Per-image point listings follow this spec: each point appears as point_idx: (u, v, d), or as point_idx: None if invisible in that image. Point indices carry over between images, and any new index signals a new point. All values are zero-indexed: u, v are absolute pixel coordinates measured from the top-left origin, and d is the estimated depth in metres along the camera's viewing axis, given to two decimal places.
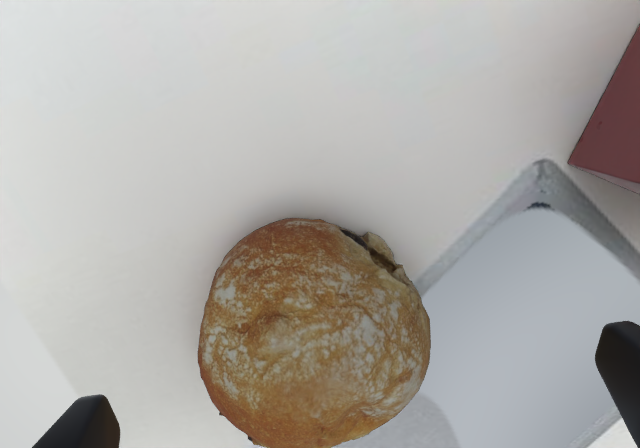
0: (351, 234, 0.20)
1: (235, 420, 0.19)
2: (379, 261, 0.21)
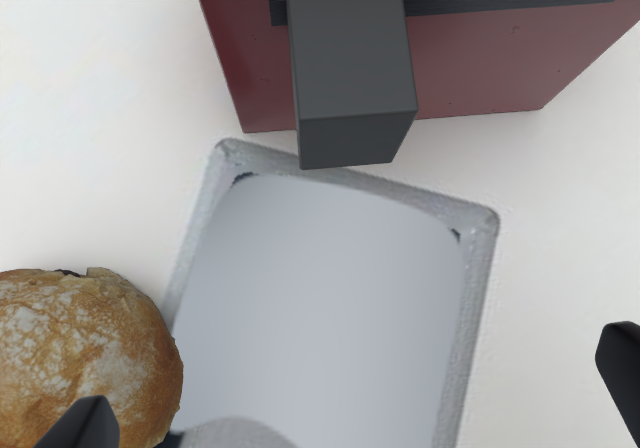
0: (56, 270, 0.21)
1: None
2: None
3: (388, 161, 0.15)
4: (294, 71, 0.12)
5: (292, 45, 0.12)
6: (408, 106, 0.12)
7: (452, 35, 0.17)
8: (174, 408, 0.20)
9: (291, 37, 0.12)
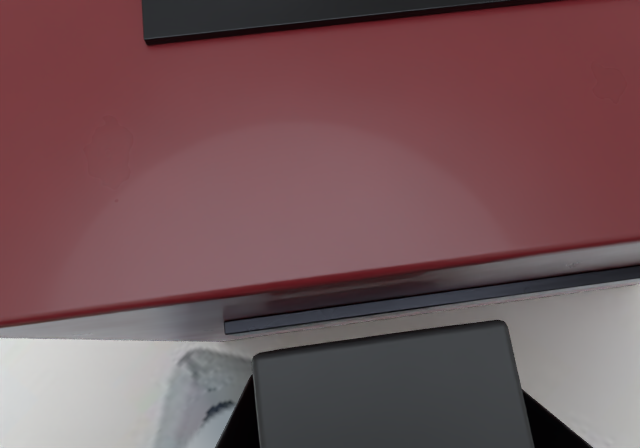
0: None
1: None
2: None
3: None
4: None
5: None
6: None
7: None
8: None
9: None
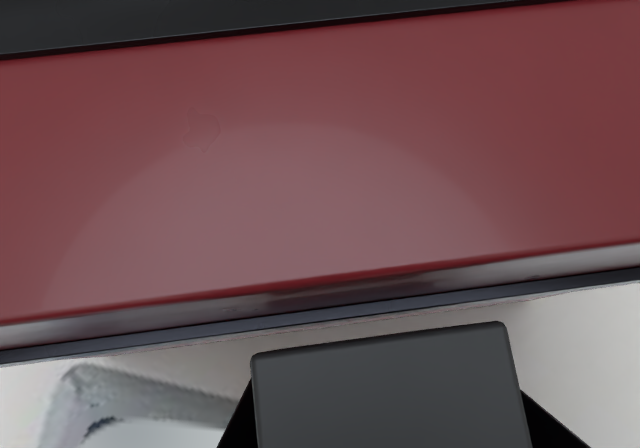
0: None
1: None
2: None
3: None
4: None
5: None
6: None
7: None
8: None
9: None
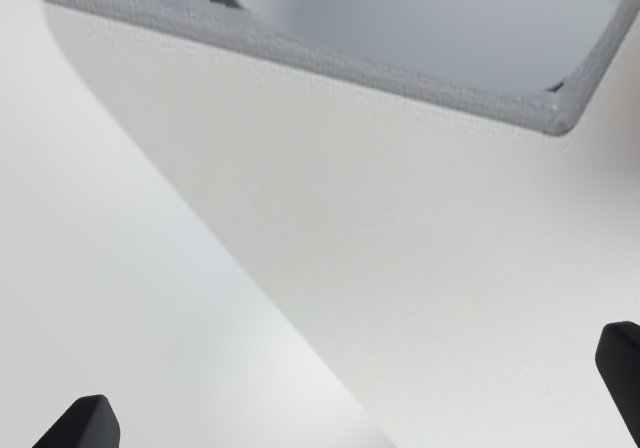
0: None
1: None
2: None
3: None
4: None
5: None
6: None
7: None
8: None
9: None
